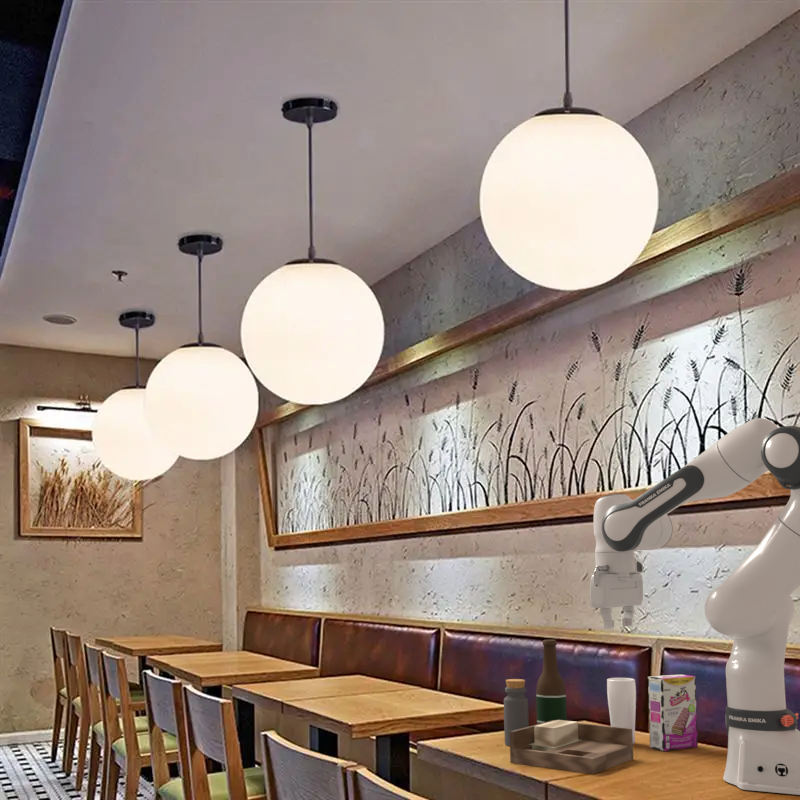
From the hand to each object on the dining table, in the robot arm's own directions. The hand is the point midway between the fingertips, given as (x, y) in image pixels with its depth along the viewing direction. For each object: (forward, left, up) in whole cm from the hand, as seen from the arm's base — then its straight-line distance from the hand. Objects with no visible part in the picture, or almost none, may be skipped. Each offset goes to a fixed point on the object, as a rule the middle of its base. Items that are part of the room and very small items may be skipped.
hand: (618, 627), depth 223 cm
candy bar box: (-4, -18, -29) cm, 34 cm away
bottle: (+28, 0, -29) cm, 40 cm away
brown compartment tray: (+8, +9, -28) cm, 31 cm away
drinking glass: (+8, -16, -29) cm, 34 cm away
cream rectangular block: (+13, +7, -25) cm, 29 cm away
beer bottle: (+24, -10, -29) cm, 39 cm away
